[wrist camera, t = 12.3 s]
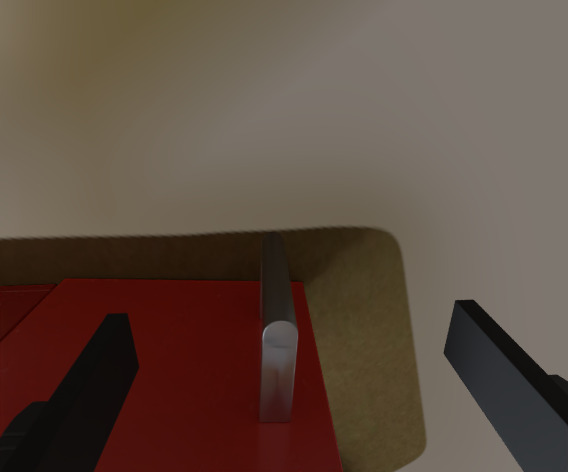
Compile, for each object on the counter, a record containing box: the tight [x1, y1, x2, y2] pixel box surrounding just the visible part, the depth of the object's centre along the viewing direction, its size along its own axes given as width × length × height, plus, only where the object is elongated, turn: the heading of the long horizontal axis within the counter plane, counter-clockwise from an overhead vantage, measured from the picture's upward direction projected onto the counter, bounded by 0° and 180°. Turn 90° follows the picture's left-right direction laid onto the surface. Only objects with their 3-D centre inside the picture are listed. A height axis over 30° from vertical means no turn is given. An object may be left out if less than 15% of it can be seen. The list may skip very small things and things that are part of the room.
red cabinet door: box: [0, 232, 343, 472], centre depth 21 cm, size 8×20×18 cm, turn 87°
